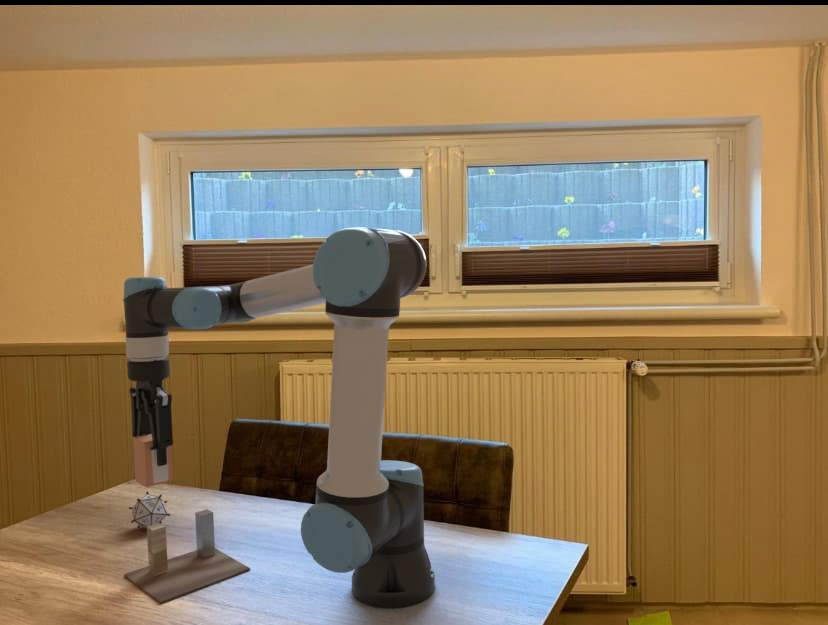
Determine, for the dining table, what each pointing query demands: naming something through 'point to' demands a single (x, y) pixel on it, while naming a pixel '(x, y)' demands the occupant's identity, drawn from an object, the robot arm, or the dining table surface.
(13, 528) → the dining table surface
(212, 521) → the grey post
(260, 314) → the robot arm
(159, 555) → the birch post
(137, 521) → the knobbed grey icosahedron
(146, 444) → the terracotta upright block
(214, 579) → the board
